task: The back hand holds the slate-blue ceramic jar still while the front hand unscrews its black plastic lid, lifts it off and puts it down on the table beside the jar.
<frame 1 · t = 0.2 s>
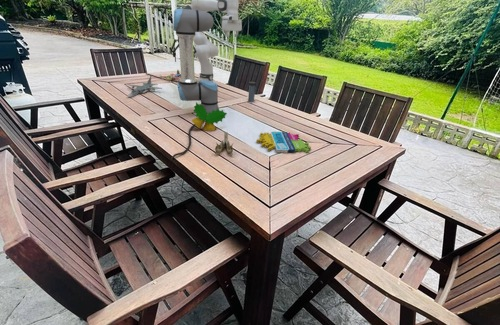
front hand: (184, 61, 211), 28 cm above the table, tool pointing down, fingers open, 13 cm apart
back hand: (231, 36, 213), 48 cm above the table, tool pointing down, fingers open, 8 cm apart
jawbone: (224, 151, 138), on the table
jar: (251, 101, 223), on the table
packaged colorful gloves: (281, 143, 152), on the table
toy: (174, 78, 280), on the table
airplane: (143, 92, 227), on the table
ornament: (209, 128, 165), on the table
lid: (252, 82, 216), point 16 cm above the table, screwed on, not yet turned
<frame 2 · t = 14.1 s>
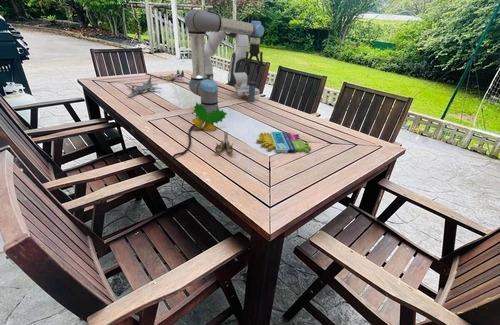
front hand: (252, 74, 212), 23 cm above the table, tool pointing down, fingers open, 8 cm apart
back hand: (252, 94, 220), 6 cm above the table, tool horizontal, fingers closed on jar, 5 cm apart
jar: (251, 101, 223), on the table, touching back hand
everything else where it was.
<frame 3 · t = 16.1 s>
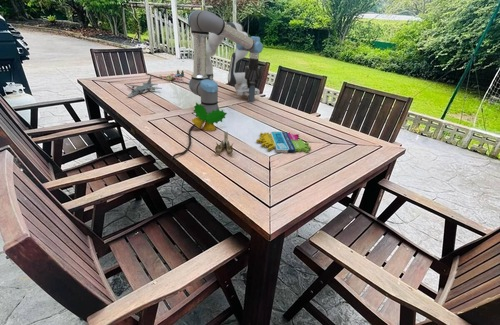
front hand: (252, 87, 218), 12 cm above the table, tool pointing down, fingers closed on lid, 6 cm apart
back hand: (252, 94, 220), 6 cm above the table, tool horizontal, fingers closed on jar, 5 cm apart
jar: (251, 101, 223), on the table, touching back hand
lid: (252, 82, 216), point 16 cm above the table, screwed on, not yet turned, touching front hand
everything else where it was.
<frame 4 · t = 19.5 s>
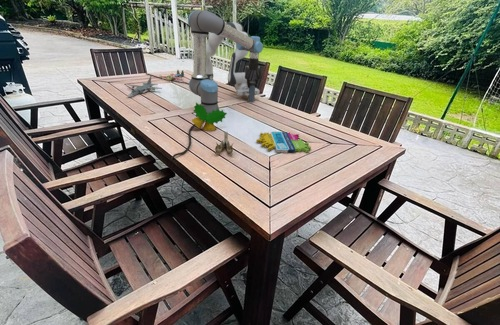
front hand: (252, 87, 217), 12 cm above the table, tool pointing down, fingers closed on lid, 6 cm apart
back hand: (252, 94, 220), 6 cm above the table, tool horizontal, fingers closed on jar, 5 cm apart
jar: (251, 101, 223), on the table, touching back hand
lid: (252, 82, 216), point 16 cm above the table, turned 105° so far, risen 0.2 cm, still on its thread, touching front hand
everything else where it was.
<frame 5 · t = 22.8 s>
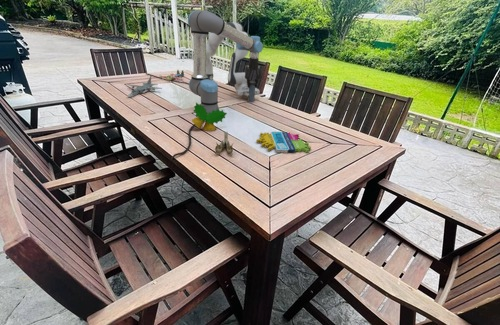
front hand: (252, 87, 217), 12 cm above the table, tool pointing down, fingers closed on lid, 6 cm apart
back hand: (252, 94, 220), 6 cm above the table, tool horizontal, fingers closed on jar, 5 cm apart
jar: (251, 101, 223), on the table, touching back hand
lid: (252, 82, 215), point 16 cm above the table, turned 211° so far, risen 0.4 cm, still on its thread, touching front hand
everything else where it was.
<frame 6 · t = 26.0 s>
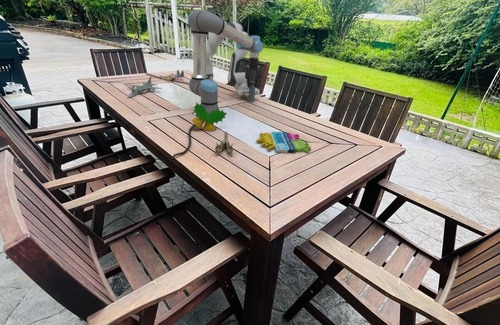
front hand: (252, 87, 217), 12 cm above the table, tool pointing down, fingers closed on lid, 6 cm apart
back hand: (252, 94, 220), 6 cm above the table, tool horizontal, fingers closed on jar, 5 cm apart
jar: (251, 101, 223), on the table, touching back hand
lid: (252, 82, 215), point 16 cm above the table, turned 316° so far, risen 0.5 cm, still on its thread, touching front hand
everything else where it was.
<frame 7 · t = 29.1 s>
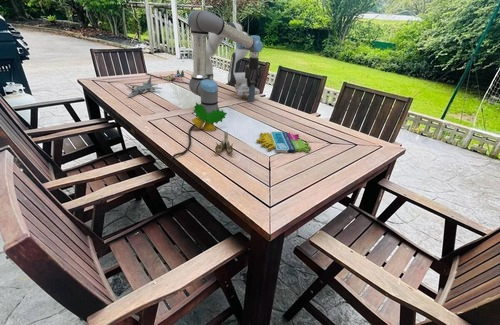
front hand: (252, 86, 217), 12 cm above the table, tool pointing down, fingers closed on lid, 6 cm apart
back hand: (252, 94, 220), 6 cm above the table, tool horizontal, fingers closed on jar, 5 cm apart
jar: (251, 101, 223), on the table, touching back hand
lid: (252, 82, 215), point 16 cm above the table, turned 421° so far, risen 0.7 cm, still on its thread, touching front hand
everything else where it was.
when the front hand's fingers open (0 cm above the table, at t = 36.1 s): lid drops 3 cm, point 2 cm above the table.
when the back hand's fingers open (6 cm above the table, at t = 36.8 s): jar stays where it is, on the table.
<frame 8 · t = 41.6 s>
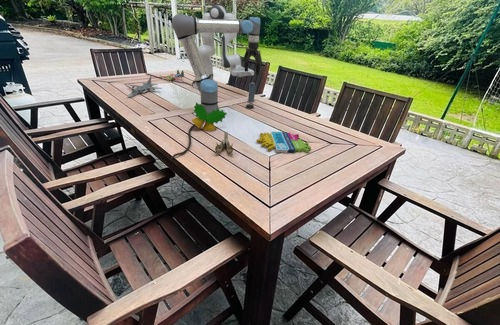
front hand: (251, 73, 195), 26 cm above the table, tool pointing down, fingers open, 13 cm apart
back hand: (246, 74, 223), 20 cm above the table, tool horizontal, fingers open, 8 cm apart
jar: (251, 101, 223), on the table
lid: (249, 105, 207), point 2 cm above the table, off its thread
everything else where it was.
at the end: lid came off its thread; lid point 1.6 cm above the table; the front hand is holding nothing; the back hand is holding nothing; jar tilted 0°; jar moved 0.0 cm from its start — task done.
